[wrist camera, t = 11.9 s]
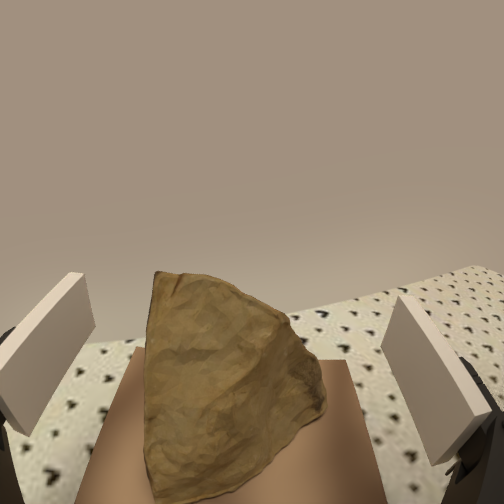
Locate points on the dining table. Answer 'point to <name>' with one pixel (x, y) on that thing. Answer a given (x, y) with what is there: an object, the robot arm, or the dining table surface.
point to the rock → (219, 387)
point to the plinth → (273, 474)
